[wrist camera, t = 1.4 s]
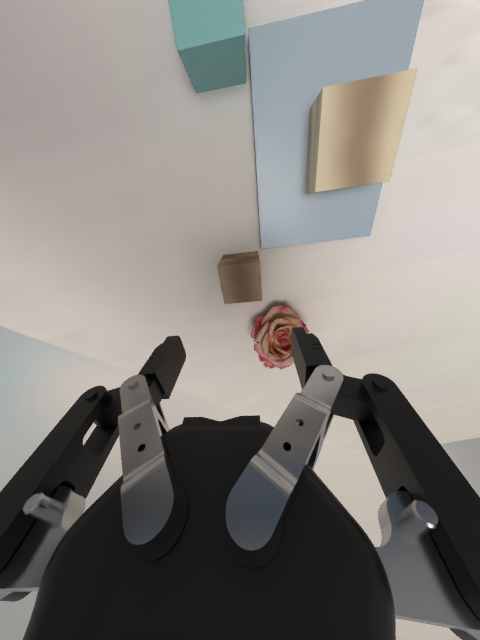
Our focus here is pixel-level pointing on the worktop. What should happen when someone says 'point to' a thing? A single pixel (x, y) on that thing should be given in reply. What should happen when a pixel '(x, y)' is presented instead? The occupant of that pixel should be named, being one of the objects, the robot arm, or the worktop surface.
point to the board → (296, 100)
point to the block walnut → (240, 277)
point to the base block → (356, 131)
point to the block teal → (210, 41)
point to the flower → (276, 336)
